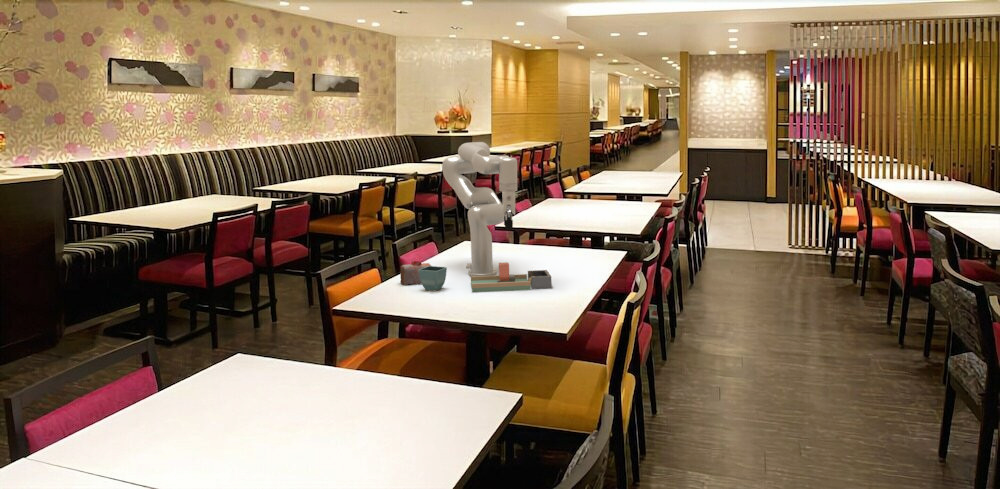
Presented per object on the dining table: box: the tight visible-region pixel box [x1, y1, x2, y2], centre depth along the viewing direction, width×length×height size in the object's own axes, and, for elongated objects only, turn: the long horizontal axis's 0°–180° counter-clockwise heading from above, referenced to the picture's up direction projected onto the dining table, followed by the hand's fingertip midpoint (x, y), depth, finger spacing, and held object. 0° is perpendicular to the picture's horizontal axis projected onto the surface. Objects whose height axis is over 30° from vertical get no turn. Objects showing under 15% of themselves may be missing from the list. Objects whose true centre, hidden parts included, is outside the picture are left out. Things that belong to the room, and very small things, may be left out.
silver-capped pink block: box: [497, 262, 516, 283], centre depth 316 cm, size 7×4×8 cm, turn 94°
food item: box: [400, 260, 432, 286], centre depth 328 cm, size 14×8×10 cm, turn 115°
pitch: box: [470, 273, 532, 293], centre depth 317 cm, size 24×15×3 cm, turn 94°
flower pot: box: [419, 265, 448, 292], centre depth 315 cm, size 9×9×9 cm
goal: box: [527, 269, 553, 290], centre depth 318 cm, size 8×13×5 cm, turn 4°
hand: (508, 227), depth 321 cm, fingers open, 9 cm apart
